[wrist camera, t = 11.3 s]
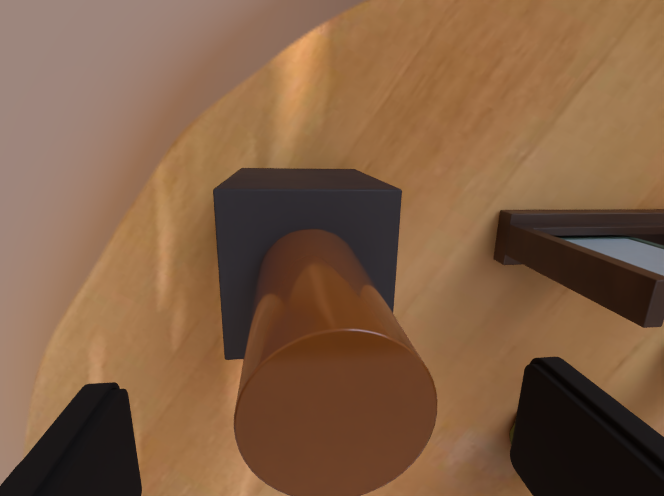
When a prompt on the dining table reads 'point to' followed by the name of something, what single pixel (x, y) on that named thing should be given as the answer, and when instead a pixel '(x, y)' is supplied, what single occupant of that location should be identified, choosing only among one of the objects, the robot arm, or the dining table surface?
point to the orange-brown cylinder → (328, 376)
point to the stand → (292, 215)
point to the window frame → (587, 256)
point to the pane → (625, 250)
